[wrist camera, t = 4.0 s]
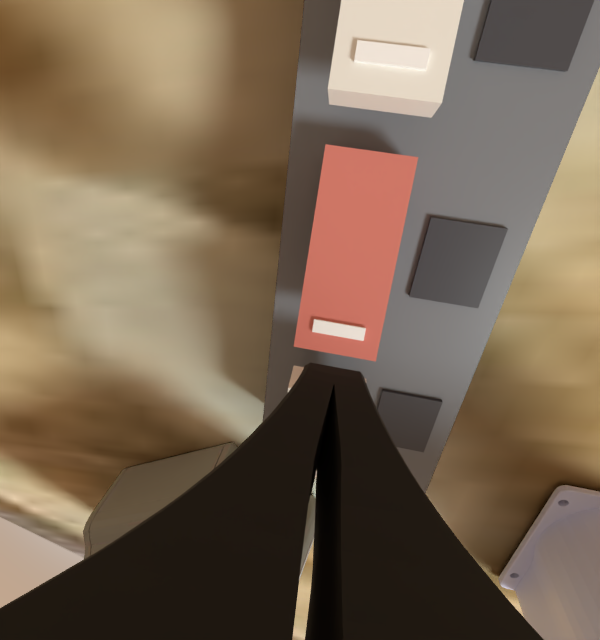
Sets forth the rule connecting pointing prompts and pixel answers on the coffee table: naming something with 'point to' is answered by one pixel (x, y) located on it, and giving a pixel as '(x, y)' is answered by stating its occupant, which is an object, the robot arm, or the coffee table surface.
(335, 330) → the plate
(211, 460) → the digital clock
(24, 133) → the coffee table surface
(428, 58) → the rocker
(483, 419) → the coffee table surface
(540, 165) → the power strip
